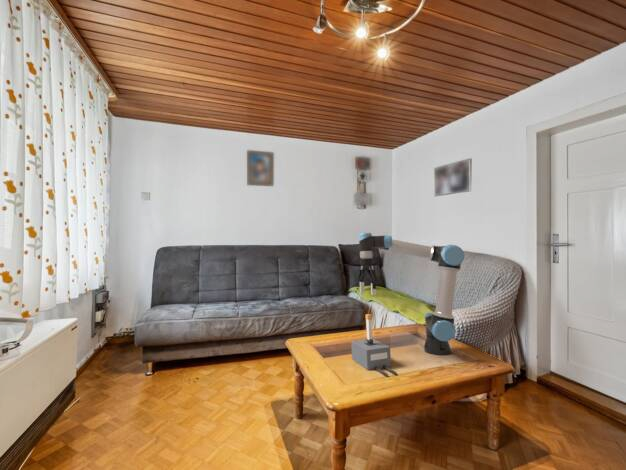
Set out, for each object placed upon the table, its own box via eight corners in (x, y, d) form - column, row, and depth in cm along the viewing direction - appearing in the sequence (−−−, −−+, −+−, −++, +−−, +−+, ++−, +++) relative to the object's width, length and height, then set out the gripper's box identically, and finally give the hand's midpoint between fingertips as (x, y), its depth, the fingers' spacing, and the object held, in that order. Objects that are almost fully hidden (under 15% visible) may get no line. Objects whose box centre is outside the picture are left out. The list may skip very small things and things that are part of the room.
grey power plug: (352, 359, 163) (351, 341, 164) (373, 356, 168) (372, 338, 169) (379, 378, 136) (378, 356, 137) (404, 374, 140) (402, 352, 141)
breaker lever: (366, 342, 159) (365, 314, 161) (370, 341, 160) (368, 313, 161) (369, 344, 156) (368, 315, 157) (373, 343, 157) (372, 315, 158)
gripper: (351, 258, 184) (352, 292, 182) (371, 257, 160) (373, 296, 158) (361, 258, 186) (363, 291, 184) (383, 257, 163) (384, 295, 161)
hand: (367, 293), depth 171 cm, fingers open, 13 cm apart
